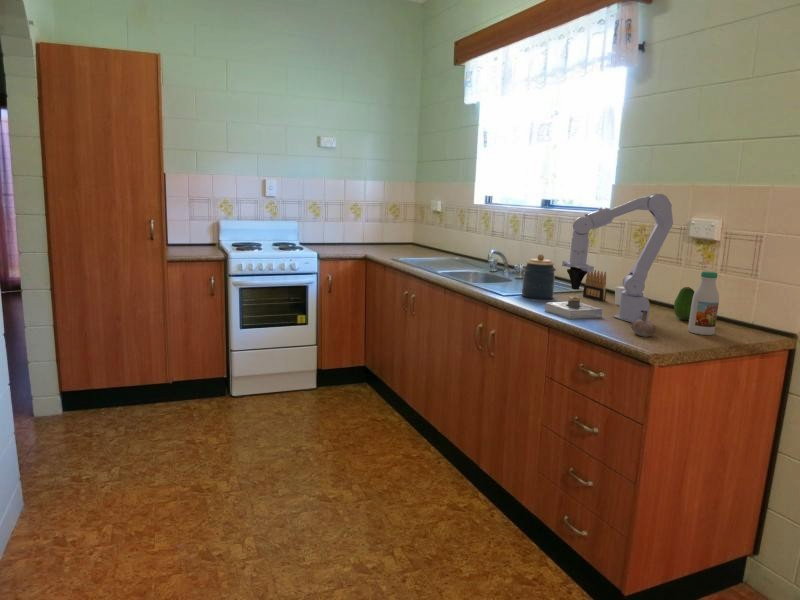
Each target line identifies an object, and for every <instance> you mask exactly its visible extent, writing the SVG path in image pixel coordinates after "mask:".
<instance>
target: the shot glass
mask: <svg viewBox="0 0 800 600" xmlns="http://www.w3.org/2000/svg"><path fill="white" fill-rule="evenodd" d="M614 289H615V290H614V305H616V306H620V300H621V292H622V291H623V290H624V289H625V288H624V286H623V285H616V286H615V287H614Z"/></svg>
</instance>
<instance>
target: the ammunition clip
mask: <svg viewBox="0 0 800 600" xmlns="http://www.w3.org/2000/svg"><path fill="white" fill-rule="evenodd" d="M585 276H586V277H585V282H584V285H583V293H582V297H583V298H587V299H592V300H596V301H600V302H606V298H607V297H606V296H607V272H606V271H604V273H603V271H601V272H600V270H598V271H597V270H596V269H594V272H587V274H586V275H585Z"/></svg>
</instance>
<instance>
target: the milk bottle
mask: <svg viewBox="0 0 800 600" xmlns="http://www.w3.org/2000/svg"><path fill="white" fill-rule="evenodd" d="M717 280H718V273H717V272H716V271H708V270H705V271H701V274H700V283H699V285H697V287H696V288H695V290H694V295H693V299H692V305H691V312H690V319H689V320H688V327H687V330H688V332H689V333H692V334H695V335H702V336H713V335H714V334H715V330H716V325H717V319H718V312H719V306H720V305H719V303H720V295H719V291H718V288H717V284H716V282H717Z"/></svg>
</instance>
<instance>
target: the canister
mask: <svg viewBox="0 0 800 600" xmlns="http://www.w3.org/2000/svg"><path fill="white" fill-rule="evenodd" d="M554 265H555V263H554V262H553V261H552V260H550V259H547V258H545V256H544V255H543V254H542V253H540V254H538V255H537V257H536V258H529V259H528V260H527V261H526V265H525V266H524V267H523V269H524V274H523V275H522V279H523V280H522V288H521V295H522V297H525V298H529V299H536V300H549V299H550V300H551V299H553V297H554V295H555V294H554V293H555V291H554V290H555V279H556V276H555V272H556V270H557V268H555V267H554Z"/></svg>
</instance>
